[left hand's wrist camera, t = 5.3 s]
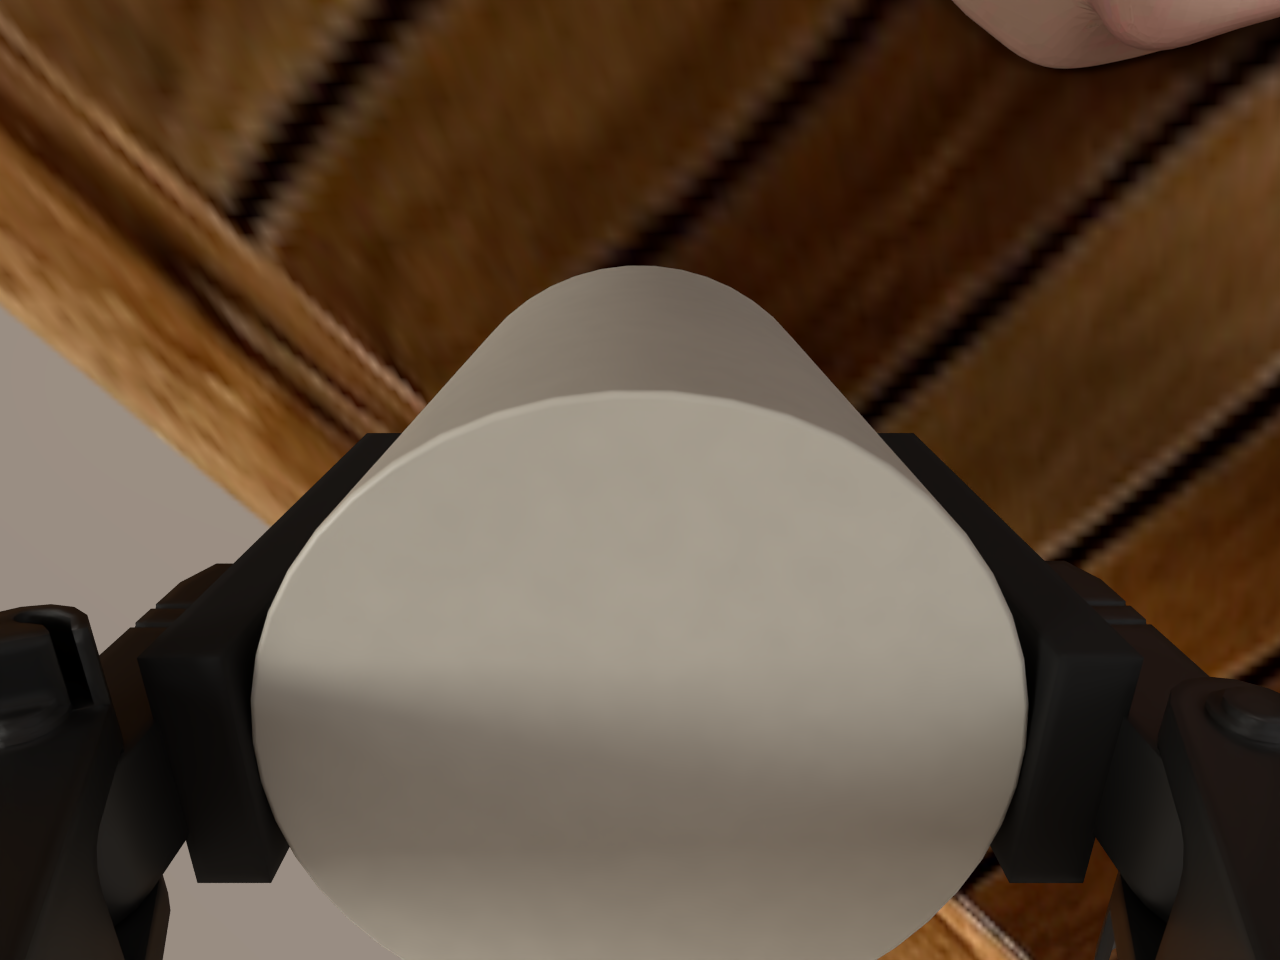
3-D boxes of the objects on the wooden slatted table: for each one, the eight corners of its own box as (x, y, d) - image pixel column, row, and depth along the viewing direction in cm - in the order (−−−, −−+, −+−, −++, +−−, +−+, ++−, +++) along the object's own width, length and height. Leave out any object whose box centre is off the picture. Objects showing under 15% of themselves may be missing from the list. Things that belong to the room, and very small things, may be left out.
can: (397, 534, 17) (158, 894, 8) (544, 190, 14) (413, 222, 6) (714, 670, 18) (779, 1100, 10) (901, 376, 15) (1202, 616, 7)
